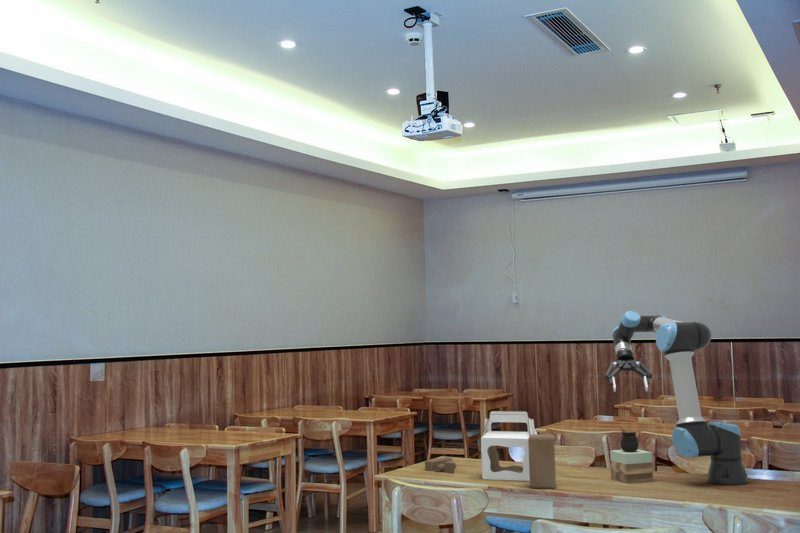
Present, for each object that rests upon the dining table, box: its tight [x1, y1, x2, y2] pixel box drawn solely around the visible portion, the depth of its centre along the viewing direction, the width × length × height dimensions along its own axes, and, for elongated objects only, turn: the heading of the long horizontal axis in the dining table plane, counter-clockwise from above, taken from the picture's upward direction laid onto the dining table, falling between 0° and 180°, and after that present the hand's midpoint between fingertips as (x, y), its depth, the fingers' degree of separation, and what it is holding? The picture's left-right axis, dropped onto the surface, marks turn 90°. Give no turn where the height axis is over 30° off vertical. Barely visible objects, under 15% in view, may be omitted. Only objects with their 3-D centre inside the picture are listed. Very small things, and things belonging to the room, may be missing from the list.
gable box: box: [480, 410, 538, 482], centre depth 351 cm, size 22×13×28 cm, turn 68°
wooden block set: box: [424, 456, 457, 474], centre depth 376 cm, size 17×6×18 cm
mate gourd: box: [619, 426, 639, 452], centre depth 338 cm, size 7×8×10 cm
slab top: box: [609, 448, 653, 464], centre depth 337 cm, size 12×12×4 cm
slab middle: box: [610, 460, 654, 475], centre depth 337 cm, size 12×12×4 cm
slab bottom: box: [610, 469, 654, 484], centre depth 337 cm, size 12×12×4 cm
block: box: [528, 433, 557, 489], centre depth 328 cm, size 10×10×20 cm
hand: (630, 389), depth 358 cm, fingers open, 13 cm apart
